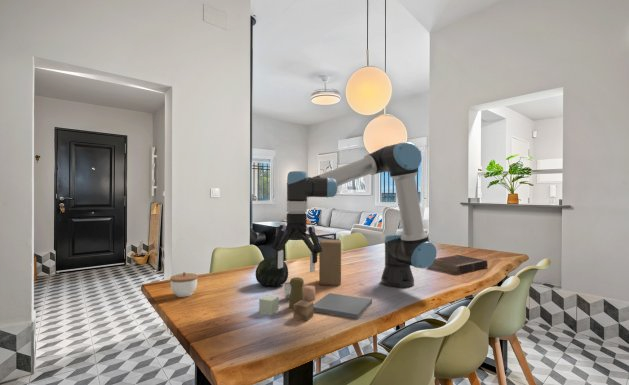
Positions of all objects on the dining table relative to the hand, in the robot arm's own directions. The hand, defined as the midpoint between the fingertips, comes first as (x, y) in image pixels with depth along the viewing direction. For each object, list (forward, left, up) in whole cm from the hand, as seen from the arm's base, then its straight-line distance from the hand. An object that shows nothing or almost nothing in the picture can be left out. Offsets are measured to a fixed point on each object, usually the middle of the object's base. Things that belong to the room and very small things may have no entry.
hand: (296, 269), depth 122 cm
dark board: (-15, -8, -14) cm, 22 cm away
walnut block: (-7, +8, -14) cm, 18 cm away
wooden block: (+2, -37, -14) cm, 40 cm away
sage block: (+7, +8, -14) cm, 18 cm away
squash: (+25, -22, -14) cm, 36 cm away
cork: (0, 0, -14) cm, 14 cm away
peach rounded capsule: (0, -10, -14) cm, 17 cm away
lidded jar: (+50, +7, -14) cm, 52 cm away
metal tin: (+7, -8, -14) cm, 18 cm away
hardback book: (-52, -98, -15) cm, 111 cm away
